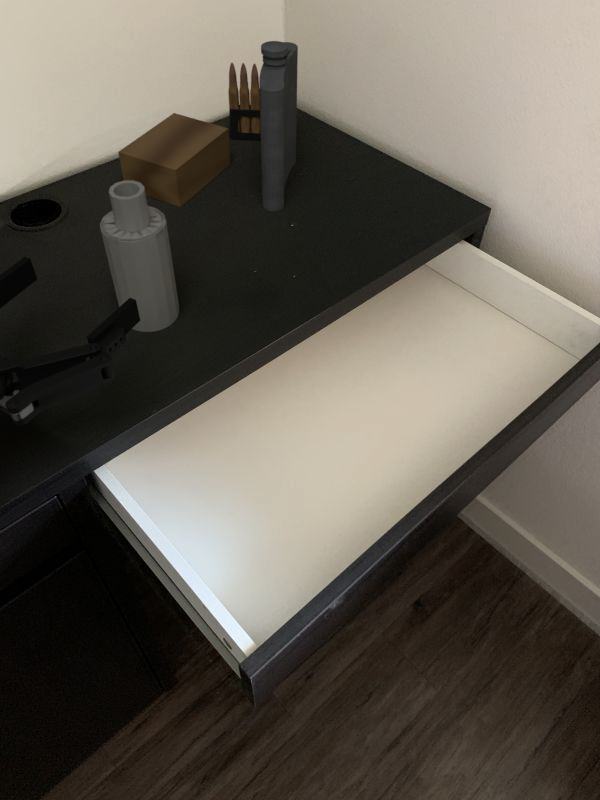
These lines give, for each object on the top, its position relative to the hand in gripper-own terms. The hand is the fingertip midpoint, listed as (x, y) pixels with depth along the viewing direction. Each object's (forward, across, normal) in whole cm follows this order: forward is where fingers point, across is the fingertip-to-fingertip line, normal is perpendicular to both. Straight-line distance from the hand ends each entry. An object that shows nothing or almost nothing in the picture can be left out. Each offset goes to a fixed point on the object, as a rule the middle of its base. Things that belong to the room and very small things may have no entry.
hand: (82, 287), depth 68 cm
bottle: (+9, 0, -11) cm, 14 cm away
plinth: (+37, -15, -10) cm, 42 cm away
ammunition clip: (+54, -10, -11) cm, 56 cm away
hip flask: (+43, -1, -11) cm, 45 cm away
